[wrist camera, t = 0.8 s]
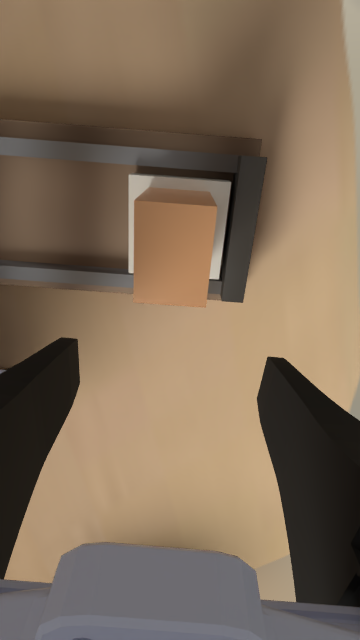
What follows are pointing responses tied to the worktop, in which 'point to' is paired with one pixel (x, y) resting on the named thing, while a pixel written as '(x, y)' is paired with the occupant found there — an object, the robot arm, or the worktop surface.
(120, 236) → the rail board
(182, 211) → the block
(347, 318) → the worktop surface
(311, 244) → the worktop surface
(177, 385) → the worktop surface
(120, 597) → the robot arm
